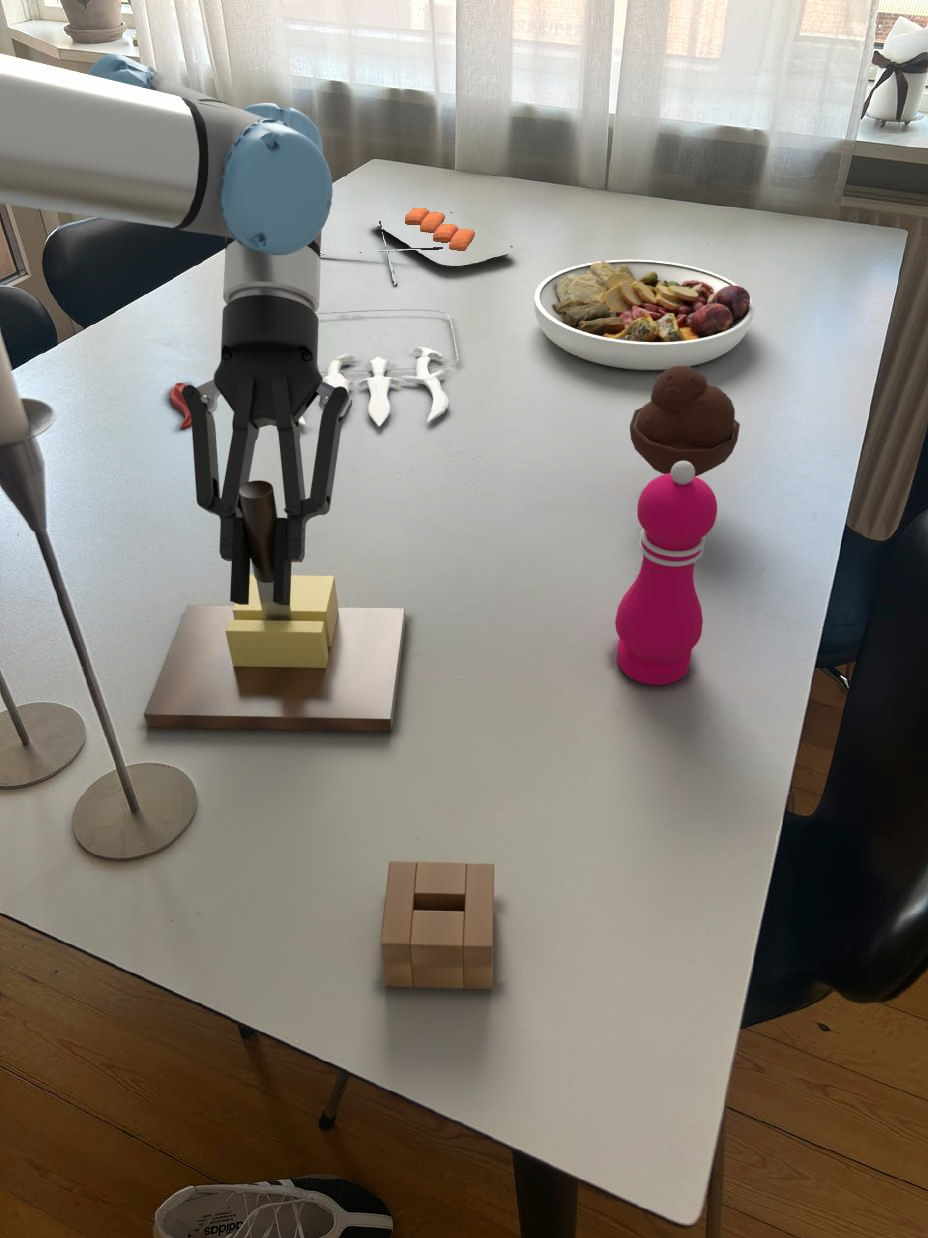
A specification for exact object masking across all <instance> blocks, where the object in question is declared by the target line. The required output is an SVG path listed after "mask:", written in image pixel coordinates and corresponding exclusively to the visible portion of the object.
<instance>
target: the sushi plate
mask: <svg viewBox="0 0 928 1238" xmlns="http://www.w3.org/2000/svg"><path fill="white" fill-rule="evenodd" d="M444 219H445V215H444V214H443V213H438V212H431V213H430V212H429V210H427V209H426V208H413V209H412V210H411V211H410V212H409V213H408V214H407V215H406V217H405V224H407V225H420V231H421V232H426V233H427V232H428V233H434V235H433V241H435V242H441V243H448V242H450V244H449V249H451V250H457V251H465V250H466V249H467V247H468V246H469V244H470V243H471V242H472V240H473V238H474V236H475V232H474V231H473V230H469V229H460V230H459V229H458V227H457V226H456V225H453V224H442V223H443V222H444ZM379 224H380V227H381V228H382V225H381V221H379ZM441 224H442V225H441ZM407 249H421V250H439V249H443V247H433V248H410V247H407ZM396 284H397V285H398V282H397V283H396Z"/></svg>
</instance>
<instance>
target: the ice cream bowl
mask: <svg viewBox="0 0 928 1238" xmlns="http://www.w3.org/2000/svg"><path fill="white" fill-rule="evenodd" d="M735 409H736V408H735V406H734V403H733V401H732V399H731V398H730V397H729V396H728V395H727V393H726V392H724V391H723V390H722V389H721V388H719V387H718V386H715V385H711V384H708V381H707V377H706V376H705V375H704V374H703V373H702V372H700V371H699V370H697V369H695V368H693V367H691V366H674V367H671V368H669V369H666V370H663V372H662V373H660V374H659V375H658V376H657V378H656V379H655V381H654V383H653V387H652V390H651V395H650V401H649V402H647V403H646V404H644V405H643V406H642V407H640V408H637V409H634V412H633V415H632V418H631V421H630V424H629V432H630V433H629V434H630V441H631V443H632V445H633V448H634V451H636V452H637V453H638V454H639V455H640V456H641V458H643V459H644V461H646V462H647V463H648V464H649V466H651V468H652V469H653V470H654V471H656V472H658V473H660V474H662V475H664V474H668V473H671V469H672V467H673V465H674V464H675V463H677V462H679V461H688V462H690V463H691V464H692V465H693V466H694V469H695V477H699V476H701V475H702V474H704V473H707V472H709V471H711V470H713V469H715V468H716V467H718V466H720V465H722V464H724V463H725V462H727V460H728V459H729V457H730V456H731V455H732V454H733V452H734V449H735V447H736V444H737V443H738V438H739V433H740V427H741V423H740V422H738V421H737V419H736V413H735V412H736V410H735Z"/></svg>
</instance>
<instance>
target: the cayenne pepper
mask: <svg viewBox="0 0 928 1238" xmlns="http://www.w3.org/2000/svg"><path fill="white" fill-rule="evenodd" d="M185 386H186V384H185V383H184V382H175V384H174V386H172V387H171V389H170V390H169V392H168V394H169V398H170V402H171V403H172V405H173V406H175V408H177V409H178V410H179V411H181V413H182V414H184V416H185V417H184V420H183V421H182V423H181V425H180V427H179V430H184V429H187V428H189V427H190V426H192V423H191V413H190V411H189V409H188V407H187V405H186V402H185V400H184V398H183V396H182V389H183V388H184V387H185Z"/></svg>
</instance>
